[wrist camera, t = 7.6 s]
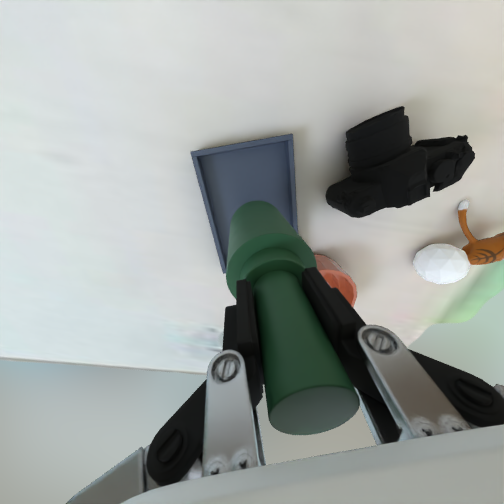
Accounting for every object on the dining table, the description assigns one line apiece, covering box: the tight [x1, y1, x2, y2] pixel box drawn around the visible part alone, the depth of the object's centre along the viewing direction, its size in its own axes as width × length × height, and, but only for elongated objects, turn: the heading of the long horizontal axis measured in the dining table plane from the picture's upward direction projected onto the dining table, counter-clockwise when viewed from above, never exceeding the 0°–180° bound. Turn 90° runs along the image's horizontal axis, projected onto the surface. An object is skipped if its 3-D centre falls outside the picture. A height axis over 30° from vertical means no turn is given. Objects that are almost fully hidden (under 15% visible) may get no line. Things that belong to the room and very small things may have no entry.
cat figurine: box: [413, 200, 504, 284], centre depth 30 cm, size 13×12×18 cm
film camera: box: [326, 106, 475, 218], centre depth 22 cm, size 15×10×9 cm, turn 115°
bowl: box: [314, 254, 357, 307], centre depth 32 cm, size 12×12×6 cm
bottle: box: [226, 201, 360, 435], centre depth 14 cm, size 6×6×18 cm
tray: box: [191, 134, 298, 274], centre depth 27 cm, size 17×12×2 cm
